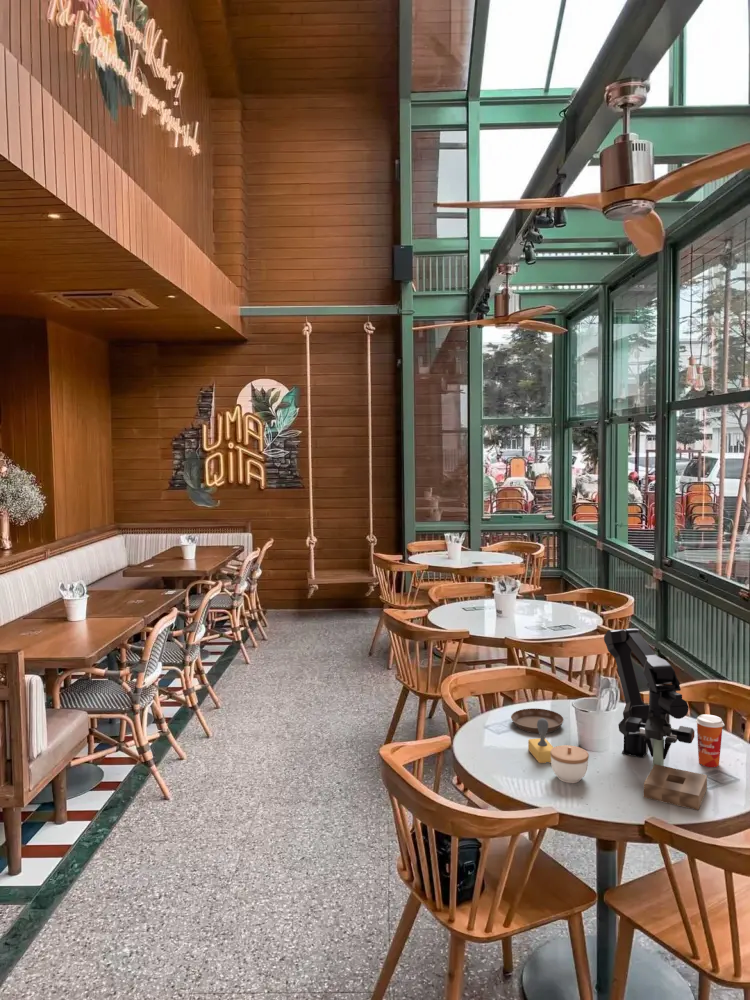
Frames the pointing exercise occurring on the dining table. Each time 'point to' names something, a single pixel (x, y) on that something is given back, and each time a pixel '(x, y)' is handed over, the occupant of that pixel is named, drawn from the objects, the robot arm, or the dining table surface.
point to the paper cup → (709, 739)
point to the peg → (658, 752)
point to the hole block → (675, 786)
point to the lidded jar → (569, 763)
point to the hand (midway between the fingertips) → (658, 757)
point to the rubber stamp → (541, 743)
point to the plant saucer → (536, 719)
